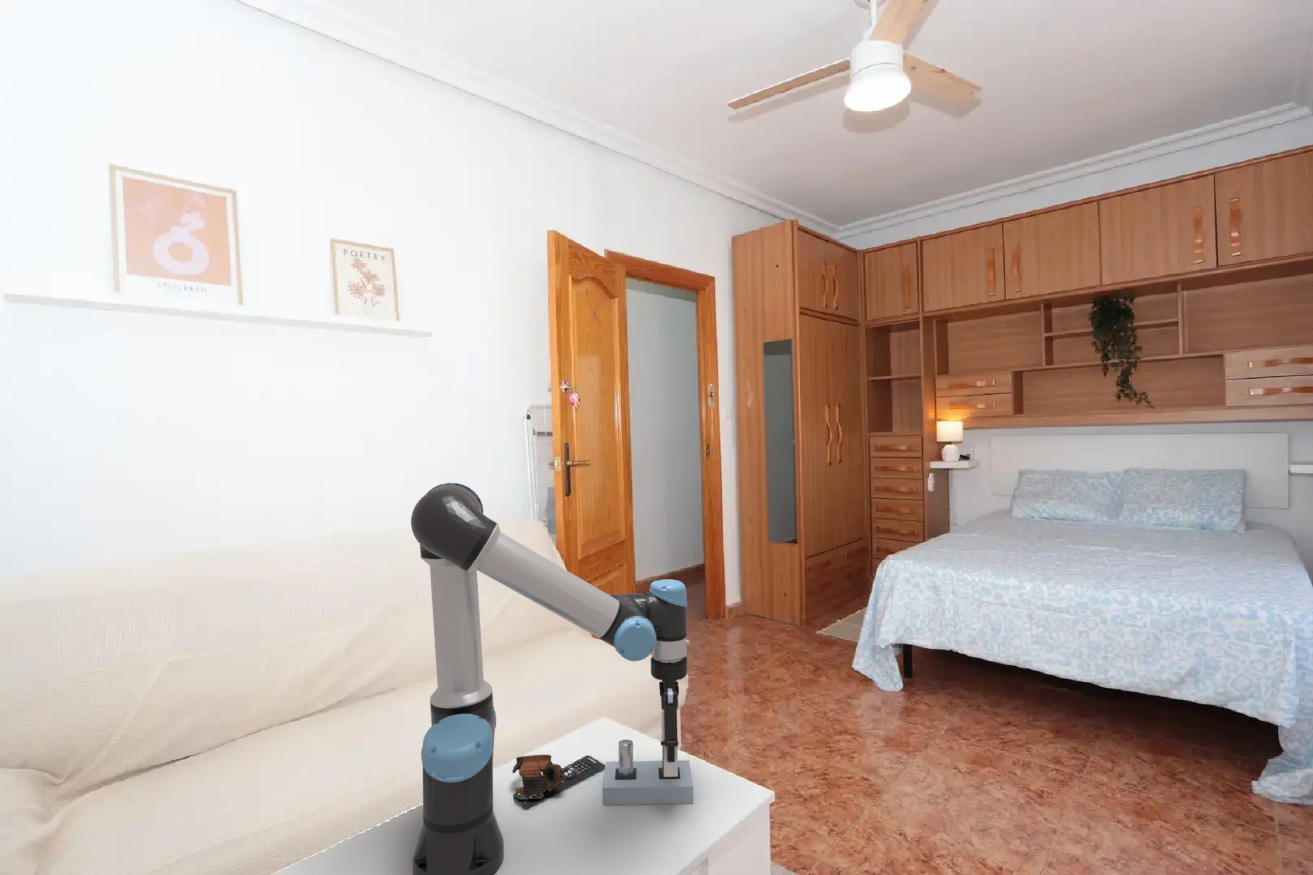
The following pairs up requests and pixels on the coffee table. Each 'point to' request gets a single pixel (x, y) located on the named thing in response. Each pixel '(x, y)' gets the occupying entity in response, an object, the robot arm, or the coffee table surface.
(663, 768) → the walnut peg
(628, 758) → the grey steel peg
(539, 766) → the pottery mug
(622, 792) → the socket block
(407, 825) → the coffee table surface
